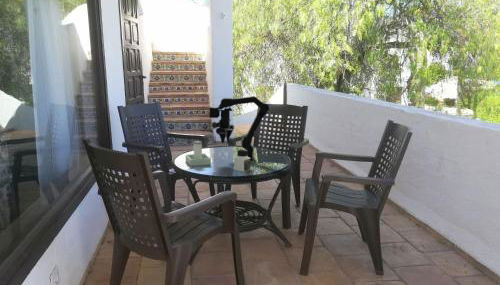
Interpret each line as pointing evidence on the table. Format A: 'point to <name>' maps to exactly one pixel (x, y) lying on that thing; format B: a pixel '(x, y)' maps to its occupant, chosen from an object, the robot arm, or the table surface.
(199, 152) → the canister
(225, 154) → the table surface
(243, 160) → the medicine bottle
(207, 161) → the tote
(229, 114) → the robot arm
